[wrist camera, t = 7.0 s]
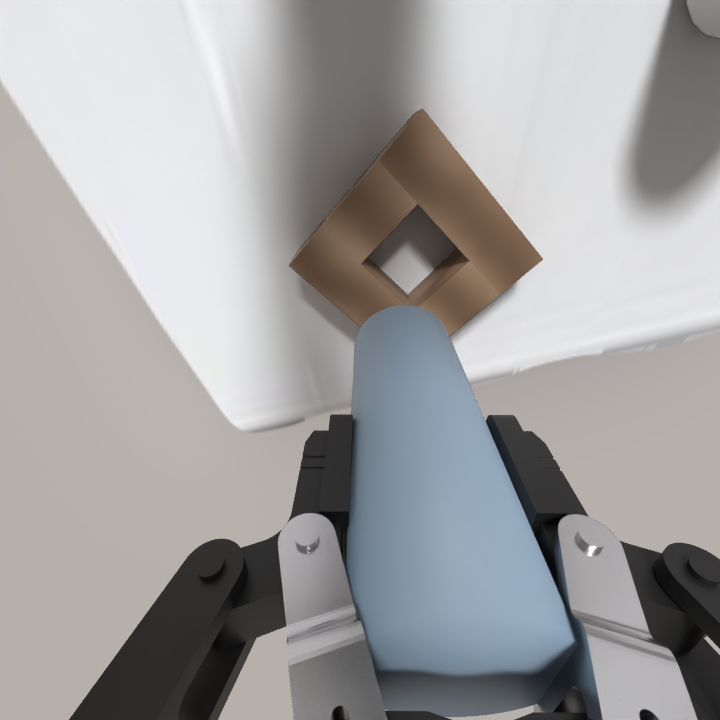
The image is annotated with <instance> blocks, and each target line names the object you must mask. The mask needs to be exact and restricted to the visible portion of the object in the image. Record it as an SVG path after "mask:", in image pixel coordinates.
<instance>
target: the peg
mask: <svg viewBox="0 0 720 720" xmlns="http://www.w3.org/2000/svg"><path fill="white" fill-rule="evenodd" d="M351 415H353V437H352V463H351V489H350V514H349V526H348V529H347V532H346V540H345V561H344V568H345V572H346V575H347V579H348V583H349V587H350V591H351V595H352V599H353V603H354V607H355V610H356V613H357V616H359V618H360V620H361V623H362V626H363V629H364V633H365V636H366V640H367V644H368V648H369V652H370V655H371V659H372V663H373V667H374V671H375V675H376V678H377V682H378V686H379V690H380V694H381V698H382V701H383V705H384V709H386V710H390V711H429V712H431V713H434V714H437V715H440V716H443V717H466V716H478V715H489V714H495V713H502V712H507V711H512V710H516V709H520V708H525V707H528V706H531V705H535V704H537V703H538V702H539V700H540V699H541V698H542V696H543V695H544V693H545V692H546V690H547V689H548V687H549V686H550V685H551V683H552V682H553V680H554V679H555V677H556V676H557V674H558V673H559V672H560V670H561V669H562V667H563V666H564V664H565V663H566V661H567V660H568V659H569V657H570V656H571V654H572V653H573V651H574V650H575V649H576V647H577V646H578V642H577V639H576V636H575V633H574V630H573V627H572V624H571V622H570V619H569V616H568V613H567V611H566V608H565V606H564V604H563V601H562V599H561V597H560V594H559V592H558V590H557V587H556V585H555V583H554V580H553V578H552V576H551V573H550V571H549V569H548V566H547V564H546V562H545V559H544V557H543V555H542V552H541V550H540V548H539V545H538V543H537V541H536V538H535V536H534V534H533V531H532V529H531V526H530V524H529V522H528V519H527V517H526V515H525V512H524V510H523V508H522V505H521V503H520V501H519V498H518V496H517V494H516V491H515V489H514V487H513V484H512V482H511V480H510V477H509V475H508V473H507V470H506V468H505V466H504V463H503V461H502V459H501V456H500V454H499V452H498V449H497V447H496V445H495V442H494V440H493V438H492V435H491V433H490V431H489V428H488V426H487V423H486V421H485V419H484V417H483V414H482V412H481V409H480V407H479V405H478V403H477V400H476V398H475V395H474V393H473V391H472V388H471V386H470V384H469V381H468V379H467V377H466V374H465V372H464V370H463V367H462V365H461V363H460V360H459V358H458V356H457V353H456V351H455V349H454V346H453V344H452V342H451V339H450V337H449V335H448V332H447V330H446V328H445V326H444V324H443V323H442V322H441V320H440V319H439V318H438V317H436V316H435V315H434V314H433V313H431V312H430V311H428V310H425V309H423V308H420V307H416V306H411V305H398V306H393V307H389V308H386V309H383V310H381V311H379V312H377V313H376V314H374V315H373V316H371V317H370V318H369V319H368V320H367V321H366V322H365V323H364V324H363V325H362V327H361V328H360V330H359V332H358V334H357V337H356V340H355V348H354V369H353V390H352V411H351Z"/></svg>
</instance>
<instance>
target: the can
mask: <svg viewBox="0 0 720 720" xmlns="http://www.w3.org/2000/svg"><path fill="white" fill-rule="evenodd" d="M687 6H688V9H689V12H690V15H691V18H692V21H693V23H694V24H695V25H696V26H697V27H698V28H699V29H700V30H701V31H702V32H703V33H704V34H706V35H709V36H713V37H716V38H720V0H687Z"/></svg>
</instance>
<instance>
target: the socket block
mask: <svg viewBox="0 0 720 720" xmlns="http://www.w3.org/2000/svg"><path fill="white" fill-rule="evenodd" d="M417 204H418V205H419V206H420V207H421V208H422V209H423V210H424V211H425V212H426V214H427V215H428V216H429V217H430V218H431V219H432V220H433V221H434V222H435V223H436V225H437V226H438V227H439V228H440V229H441V230H442V231H443V232H444V233H445V234H446V236H447V237H448V238H449V239H450V240H451V241H452V242H453V243H454V244H455V245H456V247H457V248H458V249H456V250H455V251H454V252H453V253H452V254H451V255H450V256H449V257H448V258H447V259H446V260H445V261H444V262H442V263H441V264H440V265H439V266H438V267H437V268H436V269H435V270H434V271H433V272H432V273H431V274H430V275H428V276H427V277H426V278H425V279H424V280H423V281H422V282H421V283H420V284H419V285H418V286H417V287H416V288H415V289H413V290H412V291H411V292H410V293H409V294H408V295H407V294H406V293H405V292H404V291H403V290H402V289H401V288H400V287H399V286H398V285H397V284H396V283H395V282H394V281H393V280H392V279H390V278H389V277H388V276H387V275H386V274H385V273H384V272H383V271H382V270H381V269H380V268H379V267H378V266H377V265H376V264H375V263H374V262H373V261H372V260H371V259H370V258H369V257H368V256H369V255H370V254H371V253H372V252H373V250H374V249H375V248H376V247H377V246H378V245H379V244H380V243H381V242H382V241H383V240H384V239H385V238H386V237H387V236H388V235H389V234H390V233H391V232H392V231H393V230H394V229H395V227H396V226H397V225H398V224H399V223H400V222H401V221H402V220H403V219H404V218H405V217H406V216H407V215H408V214H409V213H410V212H411V211H412V210H413V209H414V208H415V207H416V206H417ZM542 260H543V258H542V257H541V256H540V255H539V253H538V252H537V251H536V250H535V248H534V247H533V246H532V245H531V243H530V242H529V241H528V240H527V238H526V237H525V236H524V235H523V233H522V232H521V231H520V230H519V228H518V227H517V226H516V225H515V223H514V222H513V221H512V220H511V218H510V217H509V216H508V215H507V213H506V212H505V211H504V210H503V208H502V207H501V206H500V205H499V203H498V202H497V201H496V200H495V198H494V197H493V196H492V195H491V193H490V192H489V191H488V190H487V188H486V187H485V186H484V185H483V183H482V182H481V181H480V180H479V178H478V177H477V176H476V175H475V173H474V172H473V171H472V170H471V168H470V167H469V166H468V165H467V163H466V162H465V161H464V160H463V158H462V157H461V156H460V155H459V153H458V152H457V151H456V150H455V148H454V147H453V146H452V145H451V143H450V142H449V141H448V140H447V138H446V137H445V136H444V135H443V133H442V132H441V131H440V130H439V128H438V127H437V126H436V125H435V123H434V122H433V121H432V120H431V118H430V117H429V116H428V115H427V113H426V112H425V111H424V110H423V109H421V110H419V111H417V112H415V113H414V114H413V115H412V117H411V118H410V119H409V120H408V121H407V123H406V124H405V125H404V126H403V127H402V128H401V130H400V131H399V132H398V133H397V134H396V136H395V137H394V138H393V139H392V140H391V141H390V143H389V144H388V145H387V146H386V147H385V149H384V150H383V151H382V152H381V153H380V154H379V156H378V157H377V158H376V159H375V160H374V162H373V163H372V164H371V165H370V166H369V167H368V169H367V170H366V171H365V172H364V173H363V175H362V176H361V177H360V178H359V179H358V180H357V182H356V183H355V184H354V185H353V186H352V188H351V189H350V190H349V191H348V192H347V193H346V195H345V196H344V197H343V198H342V199H341V201H340V202H339V203H338V204H337V205H336V206H335V208H334V209H333V210H332V211H331V212H330V214H329V215H328V216H327V217H326V218H325V219H324V221H323V222H322V223H321V224H320V225H319V227H318V228H317V229H316V230H315V231H314V232H313V234H312V235H311V236H310V237H309V238H308V240H307V241H306V242H305V243H304V244H303V245H302V247H301V248H300V249H299V250H298V251H297V253H296V254H295V256H294V258H293V260H292V261H291V263H290V265H289V266H290V267H291V268H292V269H293V270H294V271H296V272H297V273H298V274H299V275H300V276H301V277H303V278H304V279H305V280H306V281H307V282H308V283H310V284H311V285H312V286H313V287H314V288H315V289H317V290H318V291H319V292H320V293H321V294H322V295H324V296H325V297H326V298H327V299H328V300H329V301H331V302H332V303H333V304H334V305H335V306H337V307H338V308H339V309H340V310H341V311H342V312H344V313H345V314H346V315H347V316H348V317H349V318H351V319H352V320H353V321H354V322H355V323H356V324H358V325H359V326H360V327H362V325H363V324H364V323H365V322H366V321H367V320H368V319H369V318H370V317H371V316H373V315H374V314H376V313H377V312H379V311H381V310H383V309H386V308H389V307H393V306H398V305H411V306H416V307H420V308H423V309H425V310H428V311H430V312H431V313H433V314H434V315H435V316H436V317H438V318H439V319H440V320H441V322H442V323H443V324H444V326H445V328H446V330H447V332H448V335H449V336H450V335H451V334H453V333H454V332H455V331H456V330H458V329H459V328H460V327H461V326H462V325H464V324H465V323H466V322H467V321H469V320H470V319H471V318H472V317H473V316H475V315H476V314H477V313H478V312H480V311H481V310H482V309H483V308H484V307H486V306H487V305H488V304H489V303H490V302H492V301H493V300H494V299H495V298H497V297H498V296H499V295H500V294H501V293H503V292H504V291H505V290H506V289H508V288H509V287H510V286H511V285H512V284H514V283H515V282H516V281H517V280H519V279H520V278H521V277H522V276H523V275H525V274H526V273H527V272H528V271H529V270H531V269H532V268H533V267H534V266H536V265H537V264H538V263H539V262H540V261H542Z"/></svg>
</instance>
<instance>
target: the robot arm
mask: <svg viewBox="0 0 720 720" xmlns="http://www.w3.org/2000/svg"><path fill="white" fill-rule="evenodd" d="M486 423H487V426H488V428H489V431H490V433H491V435H492V438H493V440H494V442H495V445H496V447H497V449H498V452H499V454H500V456H501V459H502V461H503V463H504V466H505V468H506V470H507V473H508V475H509V477H510V480H511V482H512V484H513V487H514V489H515V491H516V494H517V496H518V498H519V501H520V503H521V505H522V508H523V510H524V512H525V515H526V517H527V519H528V522H529V524H530V526H531V529H532V531H533V534H534V536H535V538H536V541H537V543H538V545H539V548H540V550H541V552H542V555H543V557H544V559H545V562H546V564H547V566H548V569H549V571H550V573H551V576H552V578H553V580H554V583H555V585H556V587H557V590H558V592H559V594H560V597H561V599H562V601H563V604H564V606H565V608H566V611H567V613H568V616H569V619H570V622H571V624H572V627H573V630H574V633H575V636H576V639H577V642H578V646H577V647H576V649H575V650H574V651H573V653H572V654H571V656H570V657H569V659H568V660H567V661H566V663H565V664H564V666H563V667H562V669H561V670H560V672H559V673H558V674H557V676H556V677H555V679H554V680H553V682H552V683H551V685H550V686H549V687H548V689H547V690H546V692H545V693H544V695H543V696H542V698H541V699H540V700H539V702H538V703H537V704H535V705H534V712H533V713H531V714H528V715H526V716H523V717H521V718H518V719H515V720H720V655H719V654H718V653H717V652H716V651H715V650H714V649H713V648H712V647H711V646H710V645H709V643H708V642H707V641H706V640H705V639H704V638H705V637H706V636H708V637H709V638H710V639H711V640H712V641H713V642H714V643H715V644H716V645H717V646H718V647H719V648H720V559H718V558H717V557H715V556H714V555H712V554H711V553H709V552H707V551H706V550H703V549H701V548H699V547H696V546H693V545H690V544H686V543H673V544H670V545H669V546H667V547H666V548H665V550H664V551H663V553H659V552H655V551H652V550H648V549H645V548H641V547H638V546H634V545H631V544H628V543H624V542H622V541H620V540H619V539H618V538H617V536H616V535H615V534H614V533H613V532H612V531H611V530H610V529H609V528H608V527H606V526H605V525H604V524H602V523H601V522H599V521H597V520H595V519H593V518H591V517H589V516H588V515H587V513H586V511H585V510H584V508H583V506H582V505H581V503H580V501H579V500H578V498H577V496H576V495H575V493H574V491H573V489H572V488H571V486H570V484H569V483H568V481H567V479H566V478H565V476H564V474H563V473H562V471H560V467H559V466H558V464H557V462H556V461H555V460H554V459H553V456H552V454H551V452H550V451H549V449H548V447H547V446H546V444H545V443H544V442H543V441H542V440H541V439H540V438H539V437H537V436H536V435H535V434H534V433H533V432H532V431H531V432H530V431H523V430H522V428H521V426H520V425H519V423H518V421H517V419H516V417H515V416H513V415H489V416H488V417H487V420H486ZM352 437H353V415H331V416H330V422H329V431H313V433H312V434H311V435H310V437H309V438H308V439H307V441H306V442H305V446H304V452H303V459H302V462H301V469H300V473H299V477H298V482H297V488H296V493H295V498H294V503H293V508H292V513H291V516H290V518H289V521H288V522H287V524H286V525H285V526H284V527H283V529H282V530H281V531H280V532H279V533H277V534H276V535H274V536H273V537H271V538H269V539H267V540H265V541H262V542H258V543H255V544H252V545H249V546H245V547H242V548H240V547H239V546H238V544H236V543H235V542H233V541H231V540H227V539H215V540H212V541H209V542H206V543H205V544H202V545H201V546H199V547H198V548H197V549H195V550H194V551H193V552H192V553H191V554H190V555H189V556H188V557H187V559H186V560H185V561H184V563H183V564H182V565H181V567H180V568H179V570H178V571H177V573H176V574H175V575H174V576H173V578H172V579H171V581H170V582H169V583H168V585H167V586H166V587H165V589H164V590H163V592H162V593H161V594H160V596H159V597H158V598H157V600H156V601H155V603H154V604H153V605H152V607H151V608H150V609H149V611H148V612H147V613H146V615H145V616H144V618H143V619H142V620H141V622H140V623H139V624H138V626H137V627H136V629H135V630H134V631H133V633H132V634H131V636H130V637H129V638H128V640H127V641H126V642H125V644H124V645H123V646H122V648H121V649H120V651H119V652H118V653H117V655H116V656H115V657H114V659H113V660H112V662H111V663H110V664H109V666H108V667H107V668H106V670H105V671H104V672H103V674H102V675H101V677H100V678H99V679H98V681H97V682H96V683H95V685H94V686H93V688H92V689H91V690H90V692H89V693H88V694H87V696H86V697H85V699H84V700H83V701H82V703H81V704H80V705H79V707H78V708H77V710H76V711H75V712H74V714H73V715H72V716H71V718H70V719H69V720H218V718H219V716H220V713H221V711H222V709H223V707H224V705H225V703H226V701H227V699H228V697H229V695H230V692H231V691H232V688H233V686H234V684H235V682H236V680H237V678H238V676H239V674H240V671H241V669H242V667H243V665H244V663H245V661H246V659H247V657H248V655H249V653H250V650H251V648H252V646H253V644H254V642H255V640H256V638H257V637H260V636H262V635H265V634H267V633H270V632H273V631H275V630H277V629H280V628H283V627H287V657H288V667H289V676H290V687H291V697H292V707H293V717H294V720H451V719H448V718H445V717H443V716H440V715H437V714H434V713H431V712H429V711H385V709H384V705H383V701H382V698H381V694H380V690H379V686H378V682H377V678H376V675H375V671H374V667H373V663H372V659H371V655H370V652H369V648H368V644H367V640H366V636H365V633H364V629H363V626H362V623H361V620H360V618H359V616H357V613H356V610H355V607H354V603H353V599H352V595H351V591H350V587H349V583H348V579H347V575H346V572H345V568H344V561H345V540H346V532H347V529H348V526H349V514H350V489H351V463H352Z"/></svg>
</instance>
